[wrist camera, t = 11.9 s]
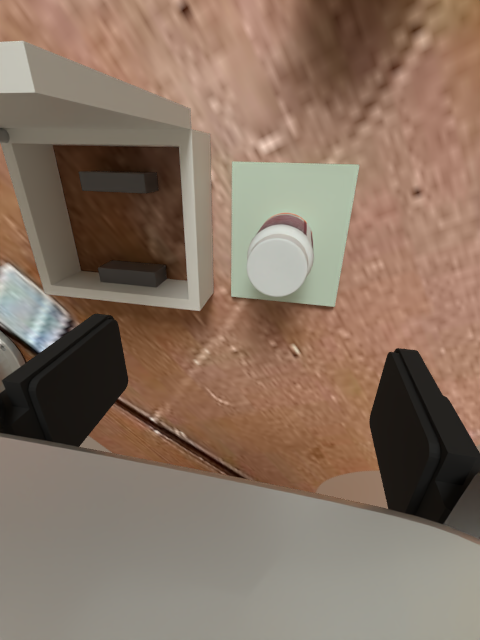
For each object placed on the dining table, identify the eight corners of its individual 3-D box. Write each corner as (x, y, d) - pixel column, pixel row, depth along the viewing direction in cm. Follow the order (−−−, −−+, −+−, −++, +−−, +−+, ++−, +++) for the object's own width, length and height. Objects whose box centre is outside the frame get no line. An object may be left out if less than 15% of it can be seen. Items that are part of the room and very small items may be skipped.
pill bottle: (248, 233, 28) (225, 259, 21) (293, 199, 26) (286, 215, 19) (278, 275, 29) (267, 314, 22) (323, 246, 27) (328, 278, 20)
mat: (334, 304, 30) (334, 306, 29) (232, 294, 32) (231, 296, 31) (358, 164, 24) (359, 164, 24) (233, 161, 26) (232, 161, 26)
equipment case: (213, 292, 32) (113, 427, 16) (75, 278, 35) (-130, 382, 19) (209, 116, 25) (23, 40, 9) (36, 116, 28) (-346, 59, 12)
